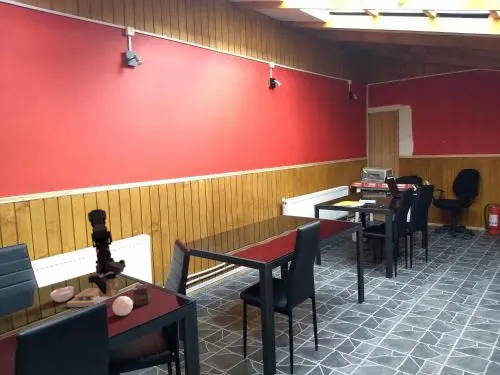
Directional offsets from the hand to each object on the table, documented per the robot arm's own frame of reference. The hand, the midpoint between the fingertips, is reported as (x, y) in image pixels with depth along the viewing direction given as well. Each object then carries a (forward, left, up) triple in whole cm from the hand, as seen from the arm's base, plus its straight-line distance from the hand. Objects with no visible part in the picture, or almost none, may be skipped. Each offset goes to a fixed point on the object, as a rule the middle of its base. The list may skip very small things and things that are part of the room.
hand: (109, 291), depth 183 cm
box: (-2, +15, -6) cm, 16 cm away
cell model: (-6, -29, -6) cm, 30 cm away
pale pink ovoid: (+9, +13, -6) cm, 17 cm away
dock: (-6, -14, -6) cm, 17 cm away
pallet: (-6, -14, -4) cm, 16 cm away
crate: (0, 0, -1) cm, 1 cm away
